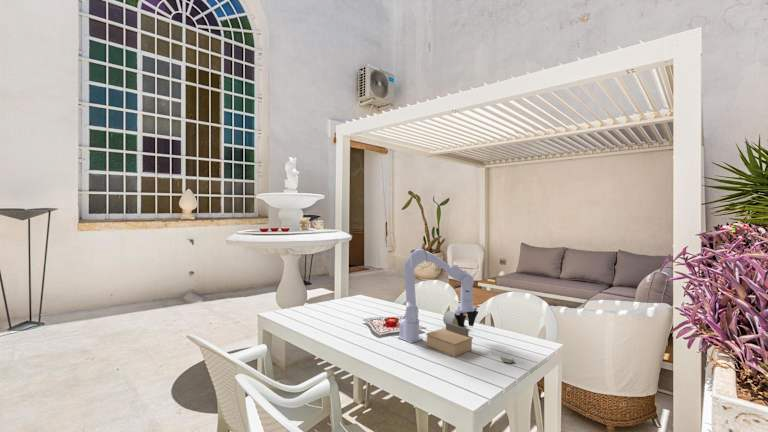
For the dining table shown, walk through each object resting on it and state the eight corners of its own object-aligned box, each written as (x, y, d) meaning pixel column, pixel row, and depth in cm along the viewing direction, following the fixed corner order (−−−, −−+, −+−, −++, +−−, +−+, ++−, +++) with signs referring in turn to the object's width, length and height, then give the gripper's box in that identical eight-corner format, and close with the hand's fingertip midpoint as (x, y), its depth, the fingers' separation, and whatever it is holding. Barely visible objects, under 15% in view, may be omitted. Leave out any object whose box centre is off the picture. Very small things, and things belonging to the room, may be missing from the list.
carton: (426, 346, 165) (427, 335, 165) (443, 340, 172) (444, 330, 172) (454, 357, 152) (454, 345, 152) (471, 350, 160) (471, 339, 160)
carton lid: (426, 334, 165) (426, 326, 165) (443, 329, 173) (444, 321, 173) (454, 345, 152) (455, 336, 152) (472, 338, 160) (472, 330, 160)
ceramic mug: (453, 329, 188) (453, 315, 188) (442, 325, 195) (443, 311, 195) (467, 327, 194) (467, 312, 194) (456, 323, 201) (457, 309, 201)
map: (503, 364, 146) (503, 362, 146) (496, 346, 167) (496, 344, 167) (515, 365, 146) (516, 363, 146) (508, 347, 166) (508, 345, 166)
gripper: (464, 303, 163) (463, 332, 163) (482, 298, 172) (482, 326, 172) (451, 300, 168) (451, 328, 168) (470, 295, 178) (470, 322, 178)
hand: (466, 327), depth 171 cm, fingers open, 7 cm apart
